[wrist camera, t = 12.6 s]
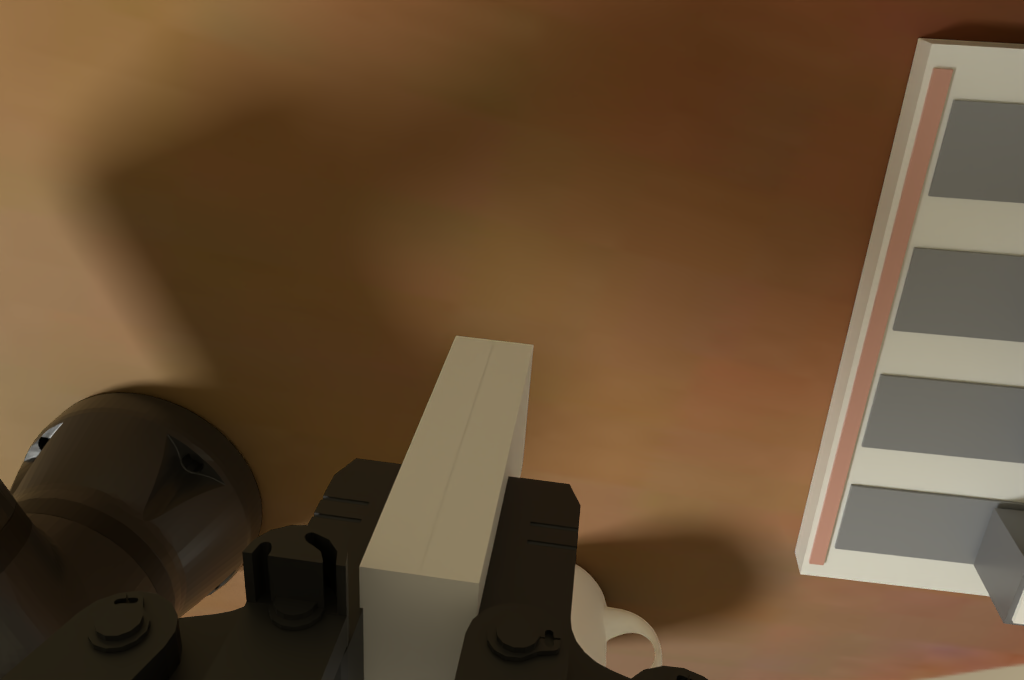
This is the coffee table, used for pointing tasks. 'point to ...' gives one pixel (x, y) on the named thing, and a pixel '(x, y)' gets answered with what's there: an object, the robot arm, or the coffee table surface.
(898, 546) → the panel
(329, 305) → the coffee table surface
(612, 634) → the mug
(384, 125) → the coffee table surface
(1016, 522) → the block
